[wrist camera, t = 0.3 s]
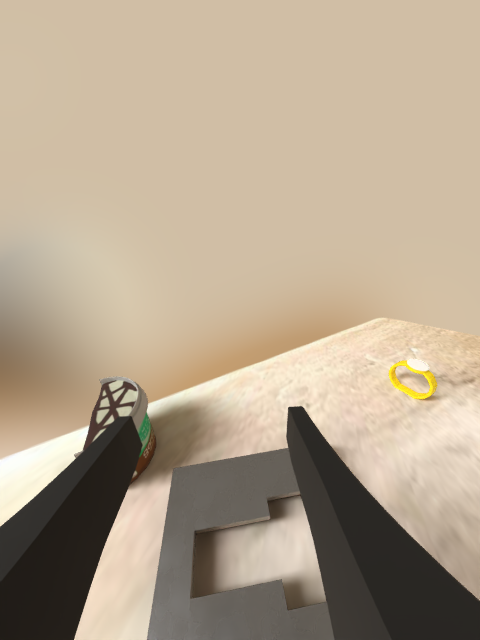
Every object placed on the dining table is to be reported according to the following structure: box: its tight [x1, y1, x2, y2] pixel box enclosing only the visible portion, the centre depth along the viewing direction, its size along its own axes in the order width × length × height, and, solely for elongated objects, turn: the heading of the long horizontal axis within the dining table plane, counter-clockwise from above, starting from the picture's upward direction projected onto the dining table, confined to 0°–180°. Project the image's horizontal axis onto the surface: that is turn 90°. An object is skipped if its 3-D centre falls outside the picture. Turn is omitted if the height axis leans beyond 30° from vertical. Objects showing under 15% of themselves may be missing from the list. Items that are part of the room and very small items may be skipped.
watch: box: [389, 359, 437, 399], centre depth 33 cm, size 6×3×6 cm, turn 29°
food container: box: [74, 377, 156, 484], centre depth 28 cm, size 12×6×10 cm, turn 21°
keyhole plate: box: [147, 448, 335, 640], centre depth 19 cm, size 16×19×2 cm
